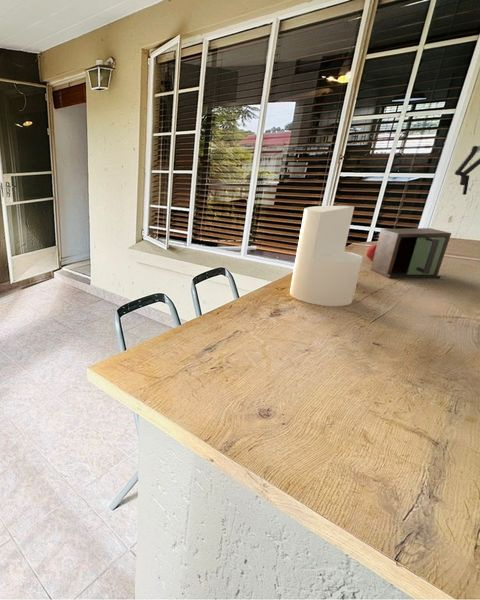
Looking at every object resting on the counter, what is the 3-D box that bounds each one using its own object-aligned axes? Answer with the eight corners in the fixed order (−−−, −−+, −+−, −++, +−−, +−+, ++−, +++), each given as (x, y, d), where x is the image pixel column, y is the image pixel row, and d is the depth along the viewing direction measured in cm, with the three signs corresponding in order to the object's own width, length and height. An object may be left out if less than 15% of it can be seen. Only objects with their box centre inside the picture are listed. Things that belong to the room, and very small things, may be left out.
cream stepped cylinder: (278, 294, 118) (292, 209, 108) (309, 284, 125) (325, 204, 115) (332, 310, 104) (354, 214, 94) (364, 298, 111) (387, 208, 101)
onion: (362, 261, 149) (367, 242, 146) (366, 258, 152) (370, 240, 149) (379, 263, 144) (384, 244, 142) (383, 261, 148) (388, 242, 145)
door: (444, 278, 120) (457, 239, 115) (417, 278, 122) (429, 239, 117) (432, 274, 125) (444, 236, 121) (406, 274, 127) (417, 236, 122)
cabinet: (440, 278, 124) (455, 233, 119) (389, 278, 127) (401, 234, 122) (417, 269, 135) (429, 228, 129) (370, 269, 138) (380, 229, 132)
